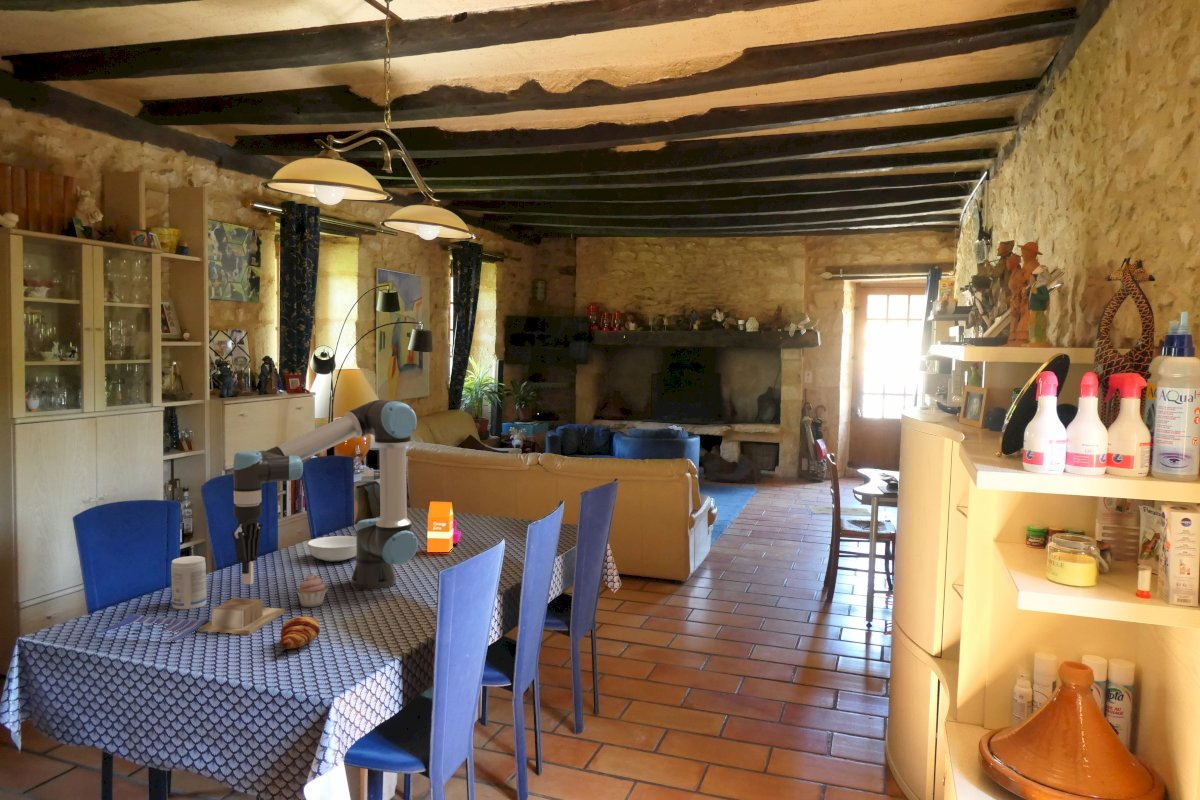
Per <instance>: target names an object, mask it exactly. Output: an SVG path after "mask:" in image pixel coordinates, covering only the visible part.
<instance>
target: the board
mask: <svg viewBox="0 0 1200 800" xmlns="http://www.w3.org/2000/svg"><path fill="white" fill-rule="evenodd" d="M285 612H286V611H285V608H276V607H275V608H273V607H263V616H262V617H260V618H259V619H257V620H255V621H254V622H252V623H250V624H249V625H247V626H246V627H244V628H225V627H212V620H210V621H208V622H206V623H207V624H205V625H203V626H201V627H199V630H198V632H199V631H208V632H207V633H211V632H220V633H219V634H226V633H232V634H231V635H242V636H245V635H247V636H250V635H252V634H254V633H255V632H257V631H258V630H260V629H261V628H263V627H265V626H266V625H268V624H269V623H271V622H273V621H274V620H276V619H277V618H279V617H280V616H282V615H283V614H285Z"/></svg>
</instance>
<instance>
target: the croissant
mask: <svg viewBox="0 0 1200 800" xmlns="http://www.w3.org/2000/svg"><path fill="white" fill-rule="evenodd" d="M319 623H320V622H319V620H318V618H315V617H313V616H306V615H304V616H296V617H292V618H291V619H289V620H287V621H286V622H285V623H284V624H283V625H282V627H281V629H280V643H279V644H280V646H281V647H282V648H283V649H285V650H290V649H296V648H301V647H303V646H304V645H306V644H310V643H312V641H313V640H314V639H316V638H317V637H318V636H319V635H320V634H321V627H320V625H319Z"/></svg>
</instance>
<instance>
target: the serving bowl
mask: <svg viewBox="0 0 1200 800" xmlns="http://www.w3.org/2000/svg"><path fill="white" fill-rule="evenodd" d="M307 547H308V551H309V553H310V554H311V556H312V557H314V558H316V559H318V560H322V561H326V562H341V561H346V560H348V559H351V558H354V557H357V536H352V535H335V536H333V535H331V536H324V537H317V538H314V539H311V540H309V541H308V542H307Z"/></svg>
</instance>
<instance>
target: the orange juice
mask: <svg viewBox="0 0 1200 800" xmlns="http://www.w3.org/2000/svg"><path fill="white" fill-rule="evenodd" d="M453 520H454V511H453V504H452V501H430V502H429V509H428V515H427V550H426V551H427V552H449V551H450V550H451V549H452V548H453V549H454V546H453ZM453 549H452V550H453ZM452 550H451V551H452ZM451 551H450V552H451Z"/></svg>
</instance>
